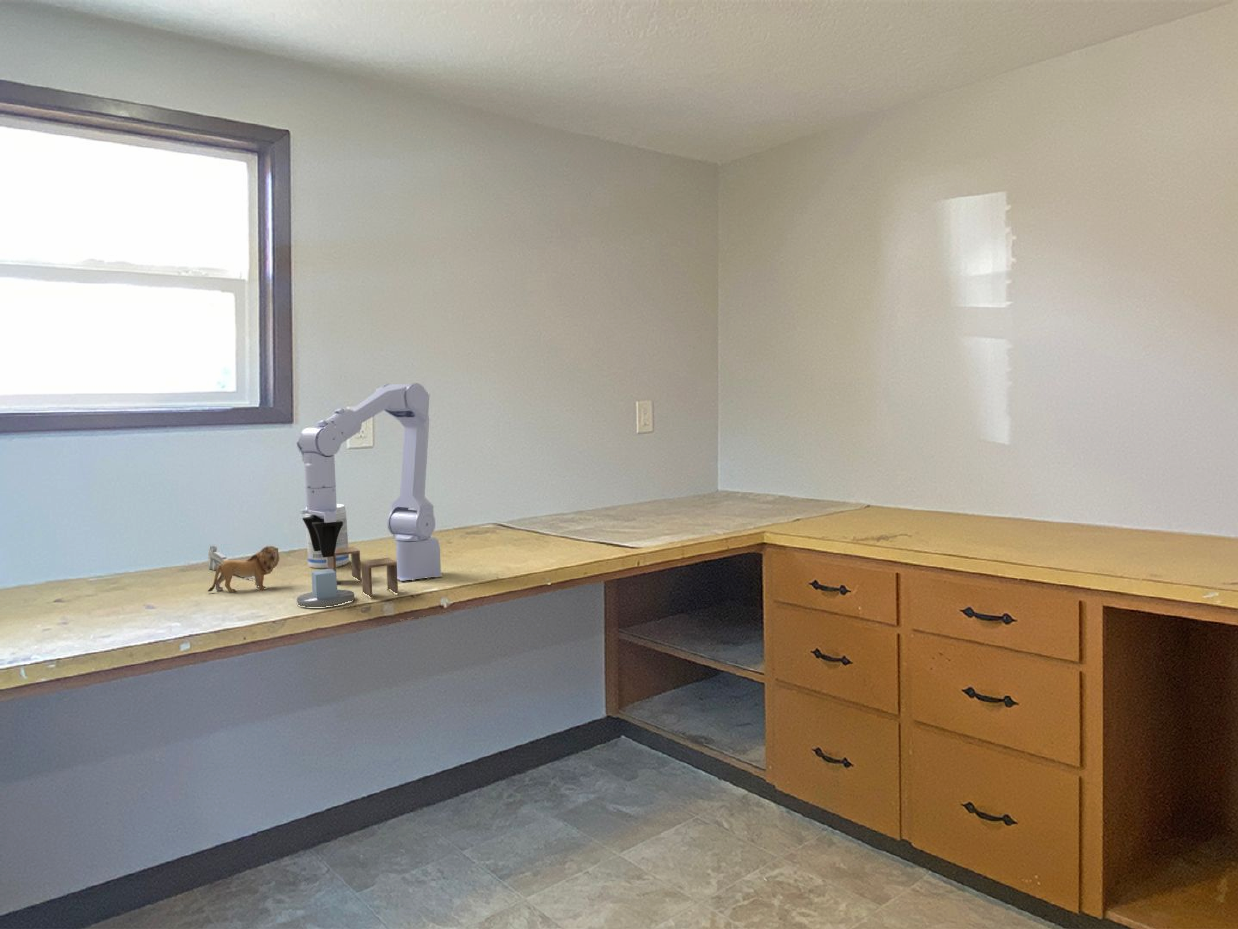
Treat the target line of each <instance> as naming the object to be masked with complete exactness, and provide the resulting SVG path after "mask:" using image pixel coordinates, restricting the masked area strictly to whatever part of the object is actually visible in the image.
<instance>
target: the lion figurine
mask: <svg viewBox="0 0 1238 929" xmlns="http://www.w3.org/2000/svg"><path fill="white" fill-rule="evenodd" d="M279 562H280V553H279V547H276V546H274V545H266V546H264V547H263V548H262V549H261V550H260V551H258V552H257V553H255V554H253V555H252V556H251V557H250V558H249V559H246V560H234V559H228V560H226V561H224V562H222V563H221V564H220V565H219V566H218V568H217V570H215V575H214V580H213V584H212V586H211V587H209V588H208V590H207V592H212V591H213V590H214V589H215V590H216V591H223V589H224V588H223V587H222V586H220V585H221V584H222V583H223V582H224V581H225V584H224V587H225V588H226V589H227V591H228V592H229V593H235V592H236V589H235V588H232V587H231V581H232V578H233V575H236V576H237V577H240V578H242V577H251V576H252V577H254V581H255V582H254V585H255V587H256V586H257V587H256V588H259V589H260V590H265V589H264V588H266V589H267V587H266V586H265V585H264V580H265V579H264V578H265V577H264V576H265V575H269V574H271V573H272V572H273V570H274V568H276V567H277V566H278V564H279ZM220 571H221V572H220ZM219 574H220V575H219ZM258 586H259V587H258Z"/></svg>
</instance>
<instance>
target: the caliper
mask: <svg viewBox="0 0 1238 929" xmlns="http://www.w3.org/2000/svg"><path fill="white" fill-rule="evenodd" d="M209 547H210V548H209V549H208V557H207V558H208V559H207V560H208V569H209V570H210V569H211V571H213V570H214V571H216V570H217V568H218V566H219V565H220V564H221V563H222V562H224V561H226V560H229V559H228V558H227V556H226V555H224V554H223V553H222V552H220V551H217V549H218V546H215V544H213V545H210V546H209ZM244 578H247V579H248V580H249V579H253V578H254V579H255V577H254V576H251V577H244ZM244 578H243V579H244ZM247 579H246V580H247Z"/></svg>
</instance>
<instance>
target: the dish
mask: <svg viewBox="0 0 1238 929" xmlns="http://www.w3.org/2000/svg"><path fill="white" fill-rule="evenodd" d="M353 599H355V592H354V591H352V590H348V589H337V597H331V598H324V599H316V598H315V597H314V596H313V593H312V591H310V592H307V593H303V594H301V595H298V596H297V597H296V604H297V603H298V605H300V606H305V607H326V606H334V605H338V604H342V603H345V602H348V601H352V600H353ZM298 605H297V606H298Z"/></svg>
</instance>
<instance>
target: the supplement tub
mask: <svg viewBox="0 0 1238 929" xmlns="http://www.w3.org/2000/svg"><path fill="white" fill-rule="evenodd" d="M337 508H338V512H337V513H336V522H337V521H342V522H343V526H342V527H341V529H340V532H339V534H338V538H337V543H336V549H337V548H346V547H349V539H348V538H349V537H348V536H349V535H348V521H347V510H346V505H345V504H342V503H337ZM305 509H307V506H306V507H305ZM304 515H305V516H304V517H310V516H311V515H310V514H304ZM305 533H306V546H307V547H306V549H307V550H306V551H307V562H308V566H309V567H311V568H313V569H328V560H327V557H323V556H322V554H321V551H314V549H313V546H312V542H311V538H310V534H309V531H308V529H307V526H306V525H305ZM349 561H350V554H345V555H336V568H339V567H343V566H345V565H347V564H348V563H349ZM342 565H343V566H342Z"/></svg>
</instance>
